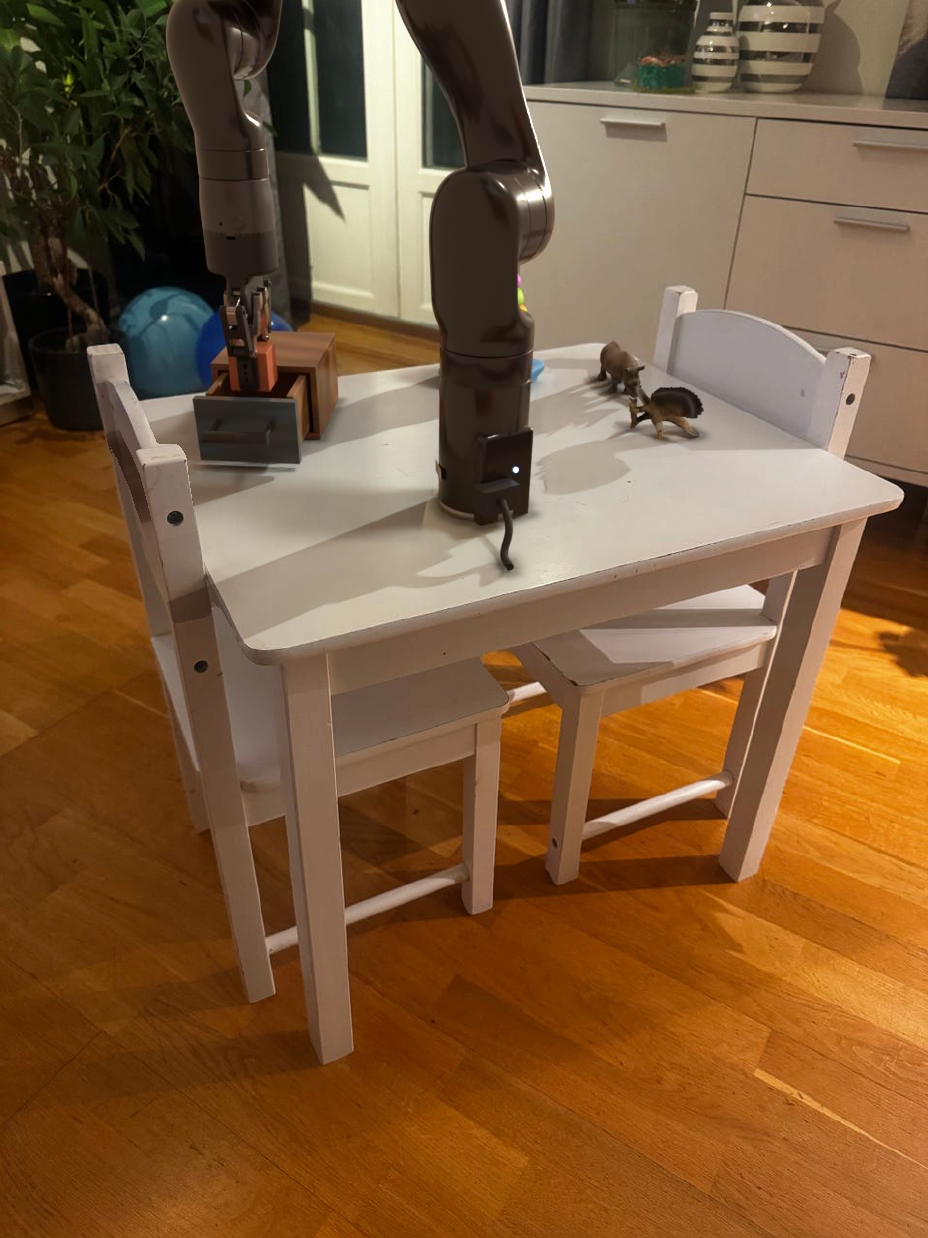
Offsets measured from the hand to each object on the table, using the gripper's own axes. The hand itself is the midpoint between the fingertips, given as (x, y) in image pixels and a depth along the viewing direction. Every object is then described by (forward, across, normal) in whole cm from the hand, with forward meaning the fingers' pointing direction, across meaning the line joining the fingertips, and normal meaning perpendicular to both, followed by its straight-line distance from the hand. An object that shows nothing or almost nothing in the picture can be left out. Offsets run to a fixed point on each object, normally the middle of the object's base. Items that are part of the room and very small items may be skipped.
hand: (255, 382), depth 105 cm
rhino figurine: (+9, -26, +46) cm, 54 cm away
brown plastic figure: (+8, -11, +49) cm, 51 cm away
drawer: (+7, +2, 0) cm, 8 cm away
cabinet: (+8, -12, 0) cm, 14 cm away
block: (0, 0, 0) cm, 0 cm away
